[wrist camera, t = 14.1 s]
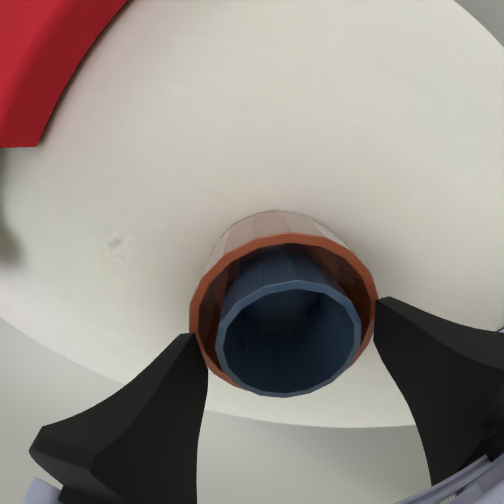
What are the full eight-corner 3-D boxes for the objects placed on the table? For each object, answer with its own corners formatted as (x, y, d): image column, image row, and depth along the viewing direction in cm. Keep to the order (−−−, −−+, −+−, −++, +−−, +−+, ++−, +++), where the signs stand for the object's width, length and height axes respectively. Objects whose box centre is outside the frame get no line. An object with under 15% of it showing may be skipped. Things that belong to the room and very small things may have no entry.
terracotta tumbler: (345, 324, 16) (372, 374, 12) (223, 346, 17) (216, 403, 12) (337, 199, 14) (377, 217, 9) (191, 225, 14) (164, 254, 10)
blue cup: (326, 314, 16) (358, 382, 10) (238, 329, 16) (233, 404, 10) (318, 227, 14) (361, 267, 8) (218, 244, 14) (198, 296, 9)
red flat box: (-35, 88, 9) (-67, 87, 4) (40, -32, 6) (15, -47, 1) (41, 146, 12) (-13, 148, 8) (163, -29, 9) (141, -70, 4)
